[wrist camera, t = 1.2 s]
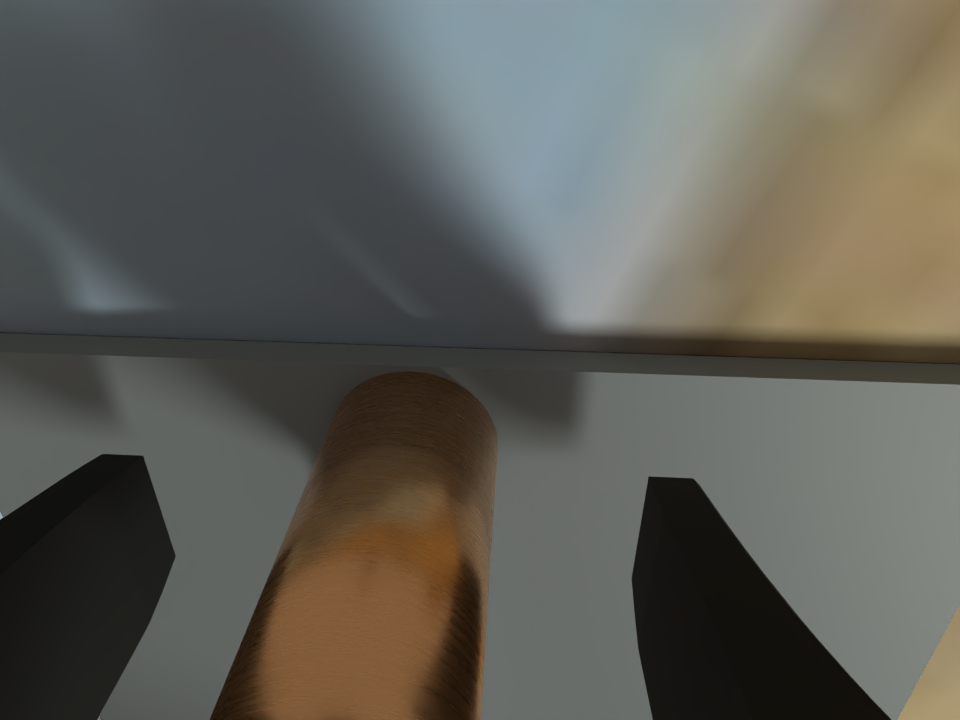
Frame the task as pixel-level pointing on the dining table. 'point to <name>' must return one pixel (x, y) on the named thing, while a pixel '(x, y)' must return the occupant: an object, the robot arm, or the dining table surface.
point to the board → (521, 495)
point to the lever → (380, 567)
